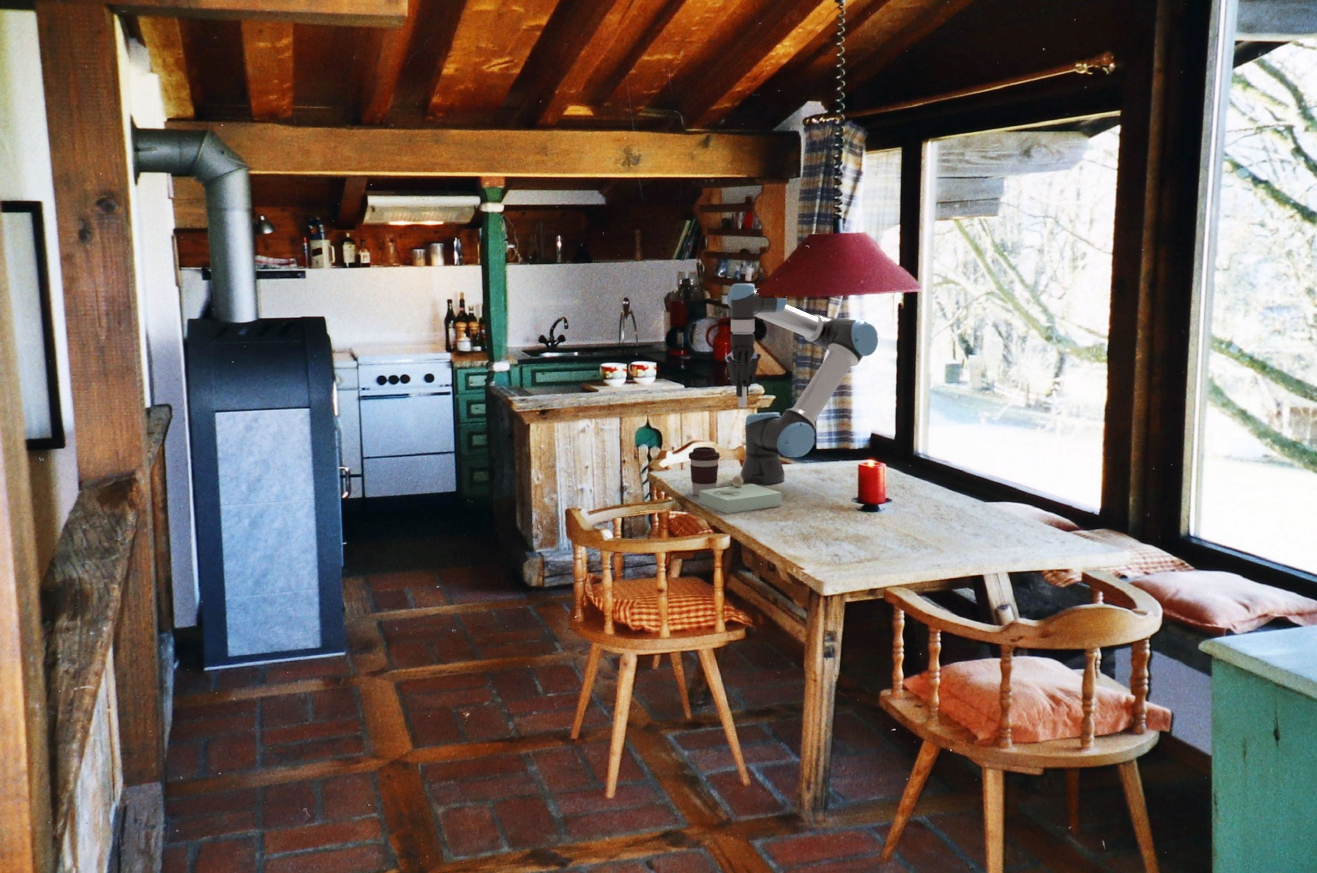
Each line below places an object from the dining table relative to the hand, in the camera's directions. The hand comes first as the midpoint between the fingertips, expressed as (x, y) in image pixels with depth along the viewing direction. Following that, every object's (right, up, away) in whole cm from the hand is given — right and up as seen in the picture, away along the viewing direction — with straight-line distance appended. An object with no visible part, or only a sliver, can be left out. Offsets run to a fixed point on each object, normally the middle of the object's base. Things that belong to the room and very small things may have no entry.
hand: (742, 406), depth 365 cm
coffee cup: (-12, -28, +4) cm, 31 cm away
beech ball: (-2, -24, -5) cm, 24 cm away
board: (-1, -31, -11) cm, 32 cm away
